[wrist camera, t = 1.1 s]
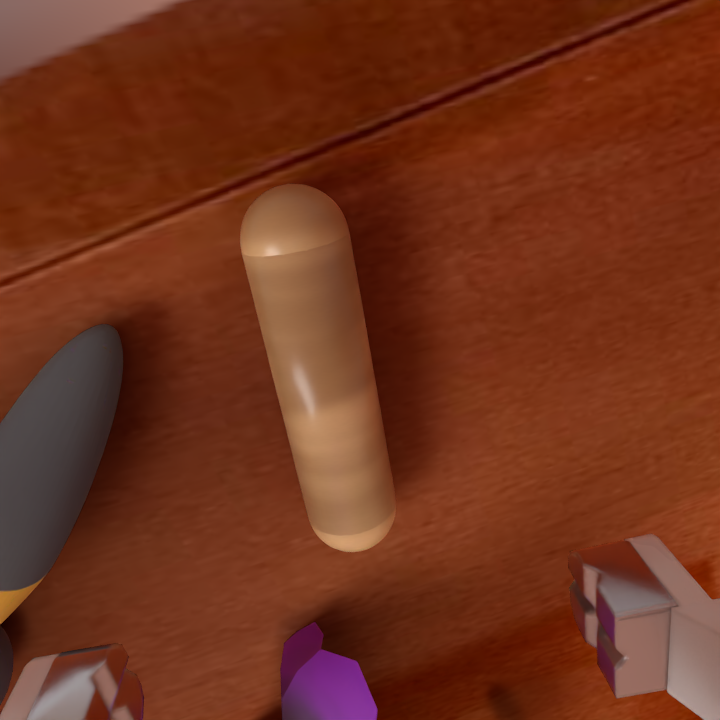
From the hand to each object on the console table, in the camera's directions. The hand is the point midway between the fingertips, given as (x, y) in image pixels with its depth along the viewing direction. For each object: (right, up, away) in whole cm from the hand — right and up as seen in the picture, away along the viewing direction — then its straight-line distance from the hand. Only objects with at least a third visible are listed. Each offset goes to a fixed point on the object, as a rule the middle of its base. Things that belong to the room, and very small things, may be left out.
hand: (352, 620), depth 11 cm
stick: (-1, +4, +10) cm, 11 cm away
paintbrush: (-13, -2, +12) cm, 18 cm away
